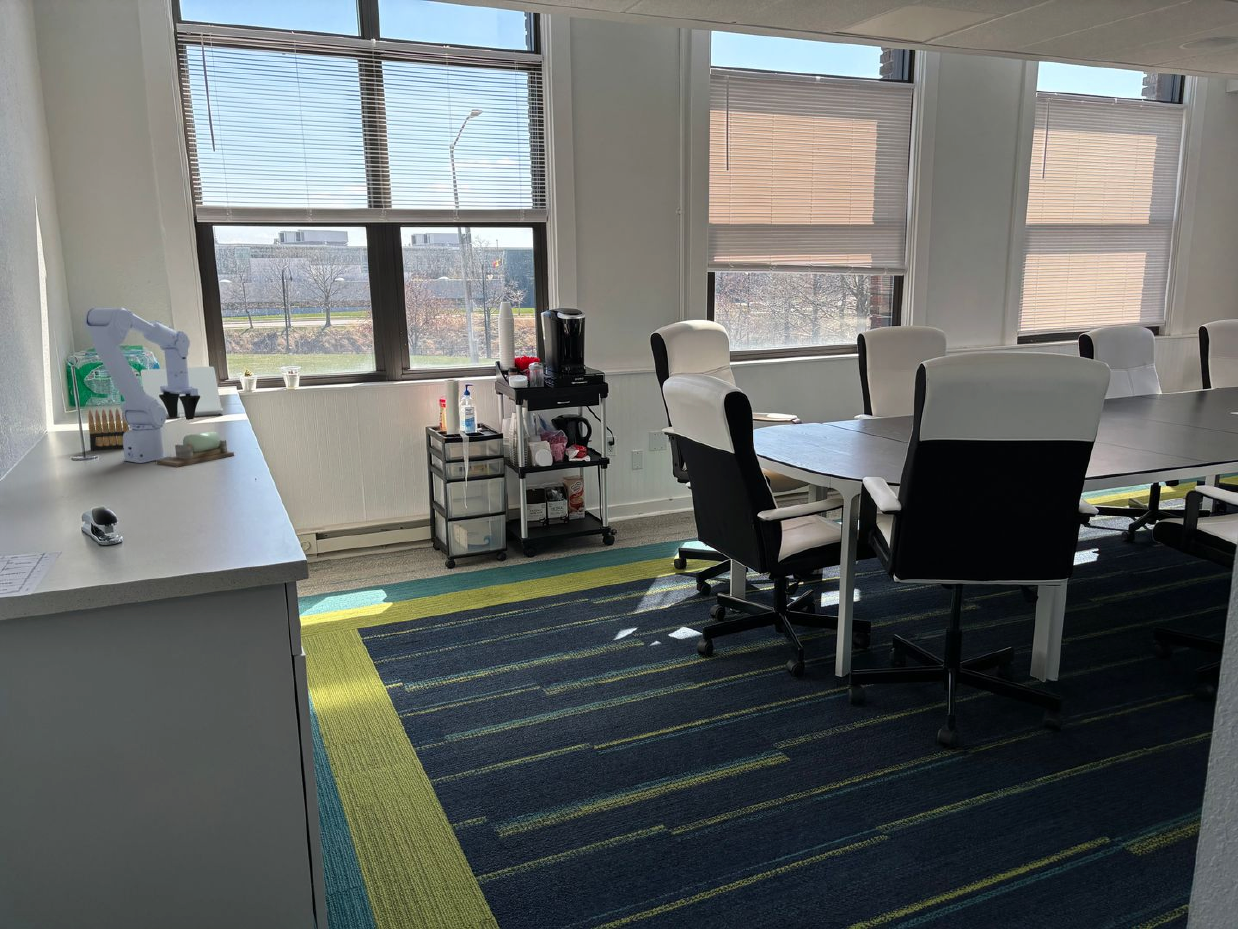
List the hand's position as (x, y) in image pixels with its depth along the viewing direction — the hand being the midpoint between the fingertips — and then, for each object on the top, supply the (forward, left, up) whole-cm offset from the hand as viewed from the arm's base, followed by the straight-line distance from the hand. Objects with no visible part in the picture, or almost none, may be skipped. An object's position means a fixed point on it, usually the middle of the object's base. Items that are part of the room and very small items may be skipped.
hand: (181, 418), depth 270 cm
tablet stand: (+44, +61, -10) cm, 76 cm away
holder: (-8, -16, -9) cm, 20 cm away
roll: (-6, -16, -7) cm, 18 cm away
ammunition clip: (-10, +20, -10) cm, 24 cm away
